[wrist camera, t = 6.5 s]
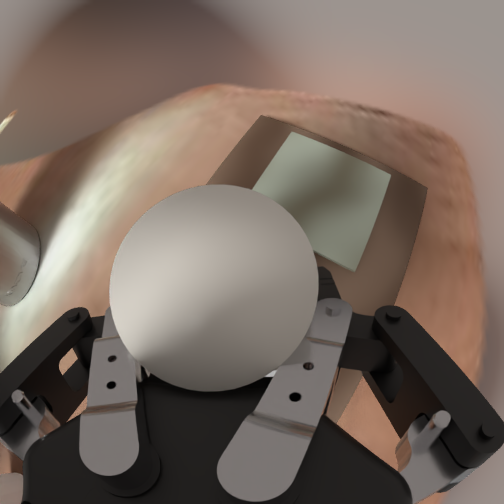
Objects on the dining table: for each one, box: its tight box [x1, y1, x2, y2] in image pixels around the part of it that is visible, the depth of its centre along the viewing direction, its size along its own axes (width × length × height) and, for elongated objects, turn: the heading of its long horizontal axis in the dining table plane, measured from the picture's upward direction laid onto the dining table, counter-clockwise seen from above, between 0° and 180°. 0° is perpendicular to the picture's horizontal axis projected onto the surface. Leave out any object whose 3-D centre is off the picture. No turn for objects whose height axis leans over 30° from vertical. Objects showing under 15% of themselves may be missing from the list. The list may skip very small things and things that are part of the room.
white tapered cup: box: [0, 472, 23, 504], centre depth 9 cm, size 7×7×7 cm
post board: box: [206, 115, 428, 423], centre depth 16 cm, size 16×22×9 cm
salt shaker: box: [109, 185, 319, 391], centre depth 12 cm, size 5×5×11 cm
